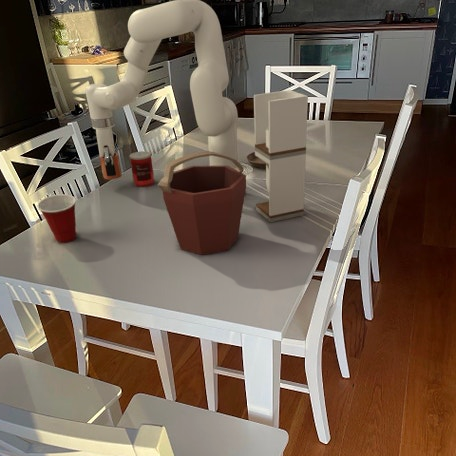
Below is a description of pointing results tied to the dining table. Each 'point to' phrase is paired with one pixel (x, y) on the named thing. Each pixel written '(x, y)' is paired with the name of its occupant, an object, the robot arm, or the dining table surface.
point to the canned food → (142, 168)
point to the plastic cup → (60, 216)
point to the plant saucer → (256, 161)
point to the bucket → (204, 203)
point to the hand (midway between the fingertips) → (112, 171)
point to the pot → (116, 164)
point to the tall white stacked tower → (282, 151)
